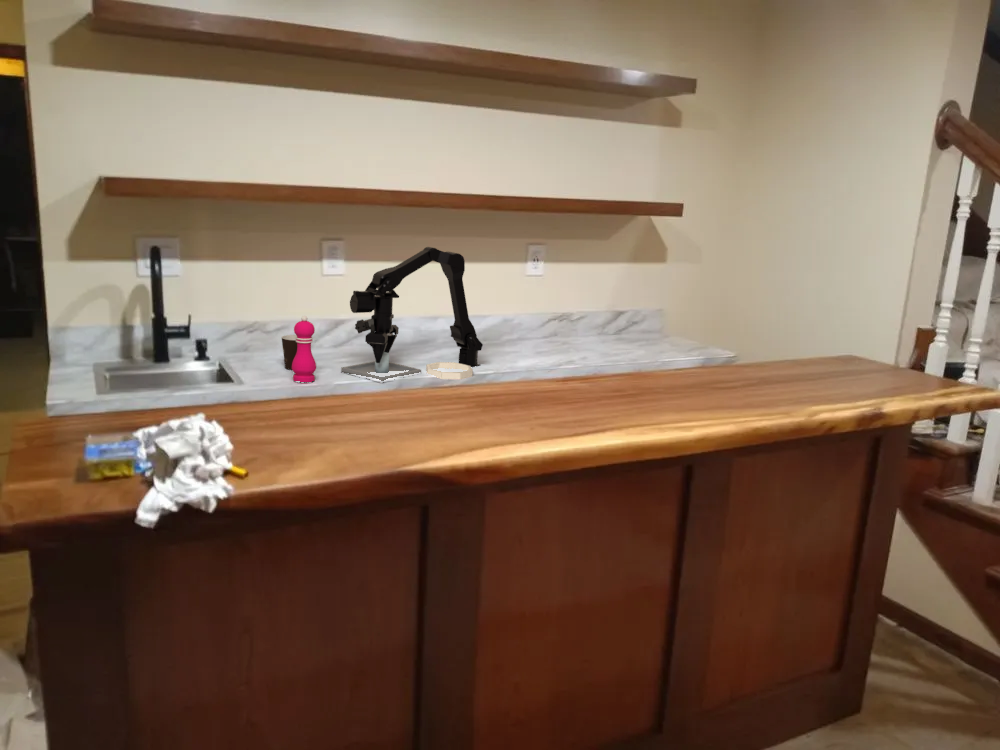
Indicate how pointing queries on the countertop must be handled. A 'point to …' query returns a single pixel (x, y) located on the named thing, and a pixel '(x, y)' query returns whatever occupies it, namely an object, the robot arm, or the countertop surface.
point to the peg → (383, 364)
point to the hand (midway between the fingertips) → (381, 359)
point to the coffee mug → (289, 350)
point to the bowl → (449, 374)
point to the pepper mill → (304, 352)
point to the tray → (370, 367)
